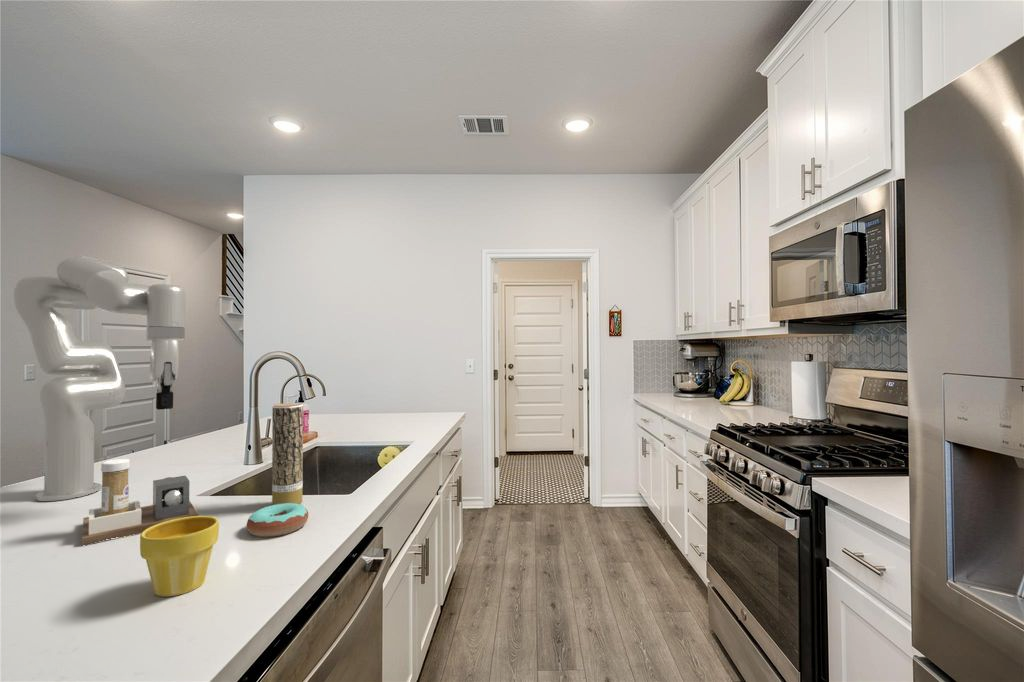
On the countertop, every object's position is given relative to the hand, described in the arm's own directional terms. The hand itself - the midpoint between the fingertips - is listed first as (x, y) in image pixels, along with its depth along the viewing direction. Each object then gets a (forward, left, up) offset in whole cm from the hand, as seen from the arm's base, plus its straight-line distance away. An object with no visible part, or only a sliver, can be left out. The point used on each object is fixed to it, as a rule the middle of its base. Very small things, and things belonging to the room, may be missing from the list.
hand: (164, 408), depth 111 cm
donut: (+34, +17, -25) cm, 45 cm away
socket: (+11, -9, -23) cm, 27 cm away
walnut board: (+9, -5, -24) cm, 26 cm away
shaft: (+12, 0, -21) cm, 24 cm away
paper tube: (+20, +23, -24) cm, 39 cm away
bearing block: (+12, 0, -23) cm, 26 cm away
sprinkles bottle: (+11, -9, -23) cm, 27 cm away
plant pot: (+49, -2, -25) cm, 55 cm away
